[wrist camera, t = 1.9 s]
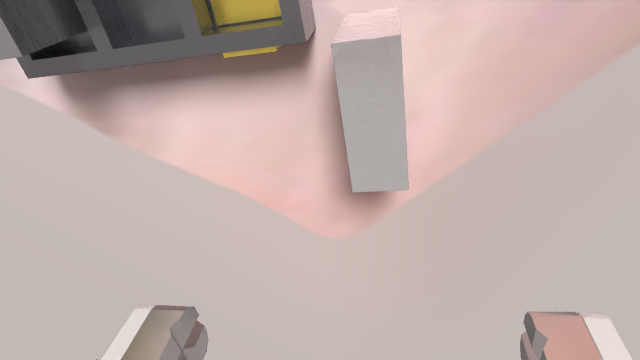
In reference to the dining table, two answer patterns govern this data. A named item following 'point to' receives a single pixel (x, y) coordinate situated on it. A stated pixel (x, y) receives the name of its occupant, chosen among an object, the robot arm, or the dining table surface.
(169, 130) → the dining table surface
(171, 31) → the rack
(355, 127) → the grey rectangular block
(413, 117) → the dining table surface
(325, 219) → the dining table surface
